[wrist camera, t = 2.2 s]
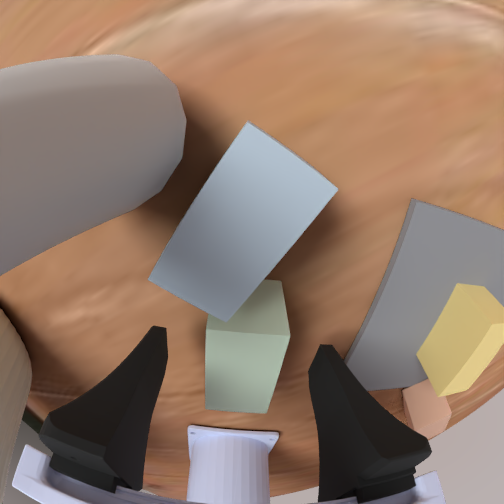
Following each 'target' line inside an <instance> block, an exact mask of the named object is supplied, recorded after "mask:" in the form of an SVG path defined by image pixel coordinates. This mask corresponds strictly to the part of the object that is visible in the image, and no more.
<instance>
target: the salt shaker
mask: <svg viewBox="0 0 504 504" xmlns="http://www.w3.org/2000/svg"><path fill="white" fill-rule="evenodd" d="M186 122H187V120H186V117H185V113H184V110H183V106H182V103H181V99H180V96H179V92H178V89H177V86H176V85H175V84H174V83H173V82H172V81H171V80H170V79H169V78H168V77H167V76H165V75H164V74H163V73H162V72H161V71H160V70H159V69H158V68H157V67H155V66H154V65H153V64H152V63H151V62H149V61H145V60H141V59H137V58H132V57H128V56H123V55H90V56H76V57H66V58H57V59H50V60H43V61H37V62H31V63H26V64H21V65H16V66H12V67H7V68H3V69H0V276H1V275H2V274H4V273H6V272H8V271H9V270H11V269H13V268H15V267H16V266H18V265H20V264H22V263H24V262H25V261H27V260H29V259H31V258H33V257H35V256H36V255H38V254H40V253H42V252H44V251H46V250H48V249H50V248H52V247H54V246H56V245H58V244H60V243H62V242H64V241H66V240H68V239H70V238H72V237H74V236H76V235H78V234H80V233H82V232H84V231H87V230H89V229H91V228H93V227H95V226H97V225H100V224H102V223H104V222H106V221H109V220H111V219H113V218H115V217H118V216H120V215H122V214H125V213H127V212H129V211H132V210H134V209H136V208H137V207H138V206H140V205H141V204H143V203H144V202H146V201H147V200H148V199H150V198H151V197H153V196H154V195H156V194H157V193H159V192H160V191H161V190H162V189H163V187H164V186H165V184H166V182H167V181H168V179H169V178H170V176H171V175H172V173H173V172H174V170H175V168H176V167H177V165H178V164H179V162H180V161H181V159H182V156H183V147H184V138H185V130H186Z"/></svg>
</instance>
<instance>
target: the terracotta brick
mask: <svg viewBox="0 0 504 504" xmlns="http://www.w3.org/2000/svg"><path fill="white" fill-rule="evenodd" d="M402 392H403V402H404V412H405V416H406V419H407V422H408V426H409V428H411V429H412V430H414V431H416V432H418V433H420V434H421V435H423V436H425V437H427V439H429V438H431V437H433V436H436V435H438V434H440V433H442V432H444V430H445V428H446V426H447V424H448V421H449V419H450V417H451V414H452V413H451V410H450V407H449V405H448V402H447V399H446V397H445V396H441V397H437V395H436V393H435V390H434V388H433V386H432V384H431V382H430V380H429V378H428V379H426V380H424V381H422V382H420V383H417V384H415V385H413V386H411V387H409V388H406V389H404V390H402Z"/></svg>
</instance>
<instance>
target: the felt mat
mask: <svg viewBox="0 0 504 504" xmlns="http://www.w3.org/2000/svg"><path fill="white" fill-rule="evenodd" d="M457 283H460V284H468V285H477V286H484V287H485V288H486V289H487V290H488V291H489V292H490V293H491V294H492V295H493V296H494V297H495V298H496V299H497V300H498V302H499V303H500V304H501V305H502V306H503V307H504V230H503V229H500V228H498V227H495V226H492V225H490V224H487V223H485V222H482V221H479V220H477V219H474V218H471V217H468V216H465V215H463V214H460V213H457V212H454V211H451V210H448V209H445V208H442V207H438V206H435V205H432V204H429V203H426V202H422V201H419V200H416V199H411V202H410V205H409V208H408V212H407V215H406V218H405V221H404V224H403V227H402V230H401V233H400V235H399V238H398V241H397V244H396V247H395V249H394V252H393V255H392V257H391V260H390V262H389V265H388V267H387V270H386V272H385V275H384V277H383V280H382V282H381V284H380V287H379V289H378V291H377V294H376V296H375V298H374V301H373V303H372V305H371V307H370V309H369V311H368V314H367V316H366V318H365V320H364V322H363V324H362V326H361V328H360V330H359V332H358V334H357V336H356V338H355V340H354V342H353V344H352V346H351V348H350V350H349V352H348V354H347V356H346V357H345V359H344V362H345V364H346V365H347V366H348V368H349V369H350V371H351V372H352V373H353V375H354V376H355V377H356V378H357V380H358V381H359V382H360V383H361V385H362V386H363V387H364V388H365V389H366V390H367V391H373V390H385V389H394V388H403V387H411V386H413V385H415V384H417V383H420V382H422V381H424V380H426V379H428V376H427V374H426V372H425V371H424V369H423V367H422V365H421V363H420V361H419V359H418V357H417V355H416V354H417V352H418V351H419V349H420V348H421V346H422V344H423V343H424V341H425V340H426V338H427V337H428V335H429V333H430V332H431V330H432V328H433V327H434V325H435V323H436V322H437V320H438V318H439V316H440V315H441V313H442V311H443V309H444V307H445V305H446V304H447V302H448V300H449V298H450V296H451V294H452V292H453V290H454V288H455V286H456V284H457Z"/></svg>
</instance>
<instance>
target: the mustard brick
mask: <svg viewBox="0 0 504 504" xmlns="http://www.w3.org/2000/svg"><path fill="white" fill-rule="evenodd" d="M503 343H504V307H503V306H502V305H501V304H500V303H499V302H498V300H497V299H496V298H495V297H494V296H493V295H492V294H491V293H490V292H489V291H488V290H487V289H486V288H485V287H484V286H477V285H468V284H460V283H457V284H456V286H455V288H454V290H453V292H452V294H451V296H450V298H449V300H448V302H447V304H446V305H445V307H444V309H443V311H442V313H441V315H440V316H439V318H438V320H437V322H436V323H435V325H434V327H433V328H432V330H431V332H430V333H429V335H428V337H427V338H426V340H425V341H424V343H423V344H422V346H421V348H420V349H419V351H418V352H417V354H416V355H417V357H418V359H419V361H420V363H421V365H422V367H423V369H424V371H425V372H426V374H427V376H428V378H429V380H430V382H431V384H432V386H433V388H434V390H435V393H436V395H437V397H441V396H446V395H450V394H454V393H458V392H462V391H466V390H468V388H469V387H470V386H471V385H472V384H473V383H474V381H475V380H476V379H477V378H478V377H479V375H480V374H481V373H482V372H483V370H484V369H485V368H486V367H487V365H488V364H489V363H490V361H491V360H492V359H493V357H494V356H495V355H496V353H497V352H498V350H499V349H500V347H501V346H502V345H503Z"/></svg>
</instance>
